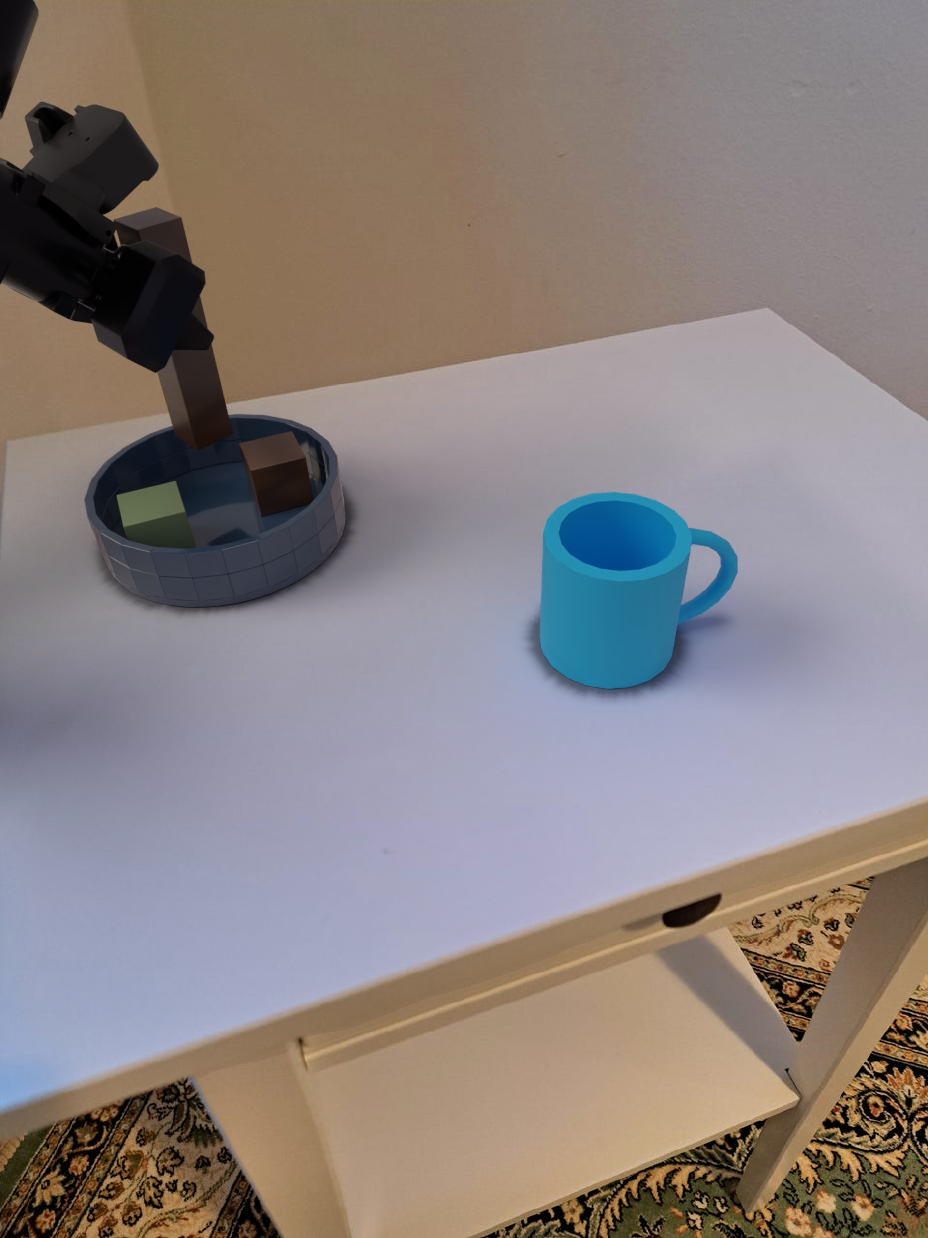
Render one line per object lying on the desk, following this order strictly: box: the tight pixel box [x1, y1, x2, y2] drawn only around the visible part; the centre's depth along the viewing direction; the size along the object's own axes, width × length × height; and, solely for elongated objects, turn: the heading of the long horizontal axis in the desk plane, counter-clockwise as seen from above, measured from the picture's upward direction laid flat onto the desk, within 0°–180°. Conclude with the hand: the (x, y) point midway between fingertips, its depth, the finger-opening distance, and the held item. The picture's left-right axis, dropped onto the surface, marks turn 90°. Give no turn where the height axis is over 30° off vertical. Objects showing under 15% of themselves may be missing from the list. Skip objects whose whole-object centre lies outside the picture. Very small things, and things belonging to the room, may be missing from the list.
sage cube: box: [117, 481, 197, 549], centre depth 60 cm, size 4×4×4 cm
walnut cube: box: [239, 431, 313, 516], centre depth 65 cm, size 4×4×4 cm
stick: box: [112, 206, 233, 450], centre depth 59 cm, size 3×3×15 cm
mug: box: [539, 491, 739, 690], centre depth 52 cm, size 12×8×8 cm
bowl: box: [84, 413, 347, 608], centre depth 63 cm, size 17×17×4 cm
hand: (197, 335), depth 59 cm, fingers closed on stick, 3 cm apart
